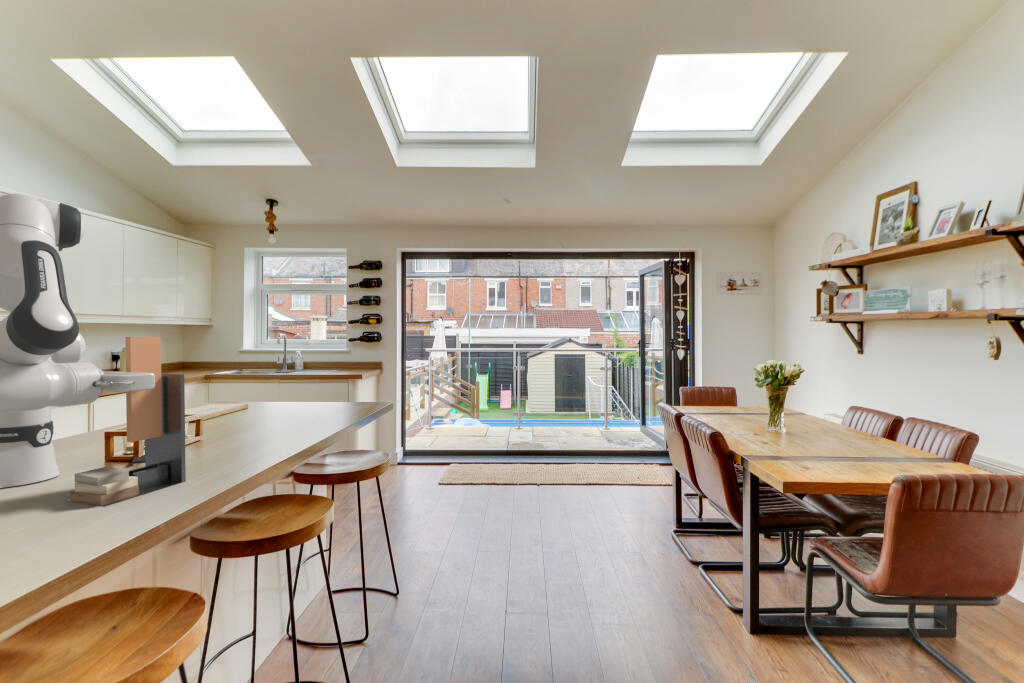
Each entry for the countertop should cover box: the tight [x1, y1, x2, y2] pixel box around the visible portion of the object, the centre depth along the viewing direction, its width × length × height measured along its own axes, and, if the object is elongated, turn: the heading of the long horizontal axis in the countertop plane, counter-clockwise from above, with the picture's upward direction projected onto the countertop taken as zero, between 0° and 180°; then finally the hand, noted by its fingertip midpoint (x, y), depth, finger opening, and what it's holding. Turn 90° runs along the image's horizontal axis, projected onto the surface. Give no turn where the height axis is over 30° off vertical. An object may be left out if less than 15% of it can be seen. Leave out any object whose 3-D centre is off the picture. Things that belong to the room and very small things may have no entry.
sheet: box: [125, 336, 162, 443], centre depth 115 cm, size 7×2×24 cm, turn 162°
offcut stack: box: [69, 466, 139, 507], centre depth 108 cm, size 8×10×6 cm
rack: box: [65, 372, 187, 508], centre depth 112 cm, size 18×12×28 cm, turn 162°
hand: (145, 377), depth 116 cm, fingers closed on sheet, 2 cm apart
